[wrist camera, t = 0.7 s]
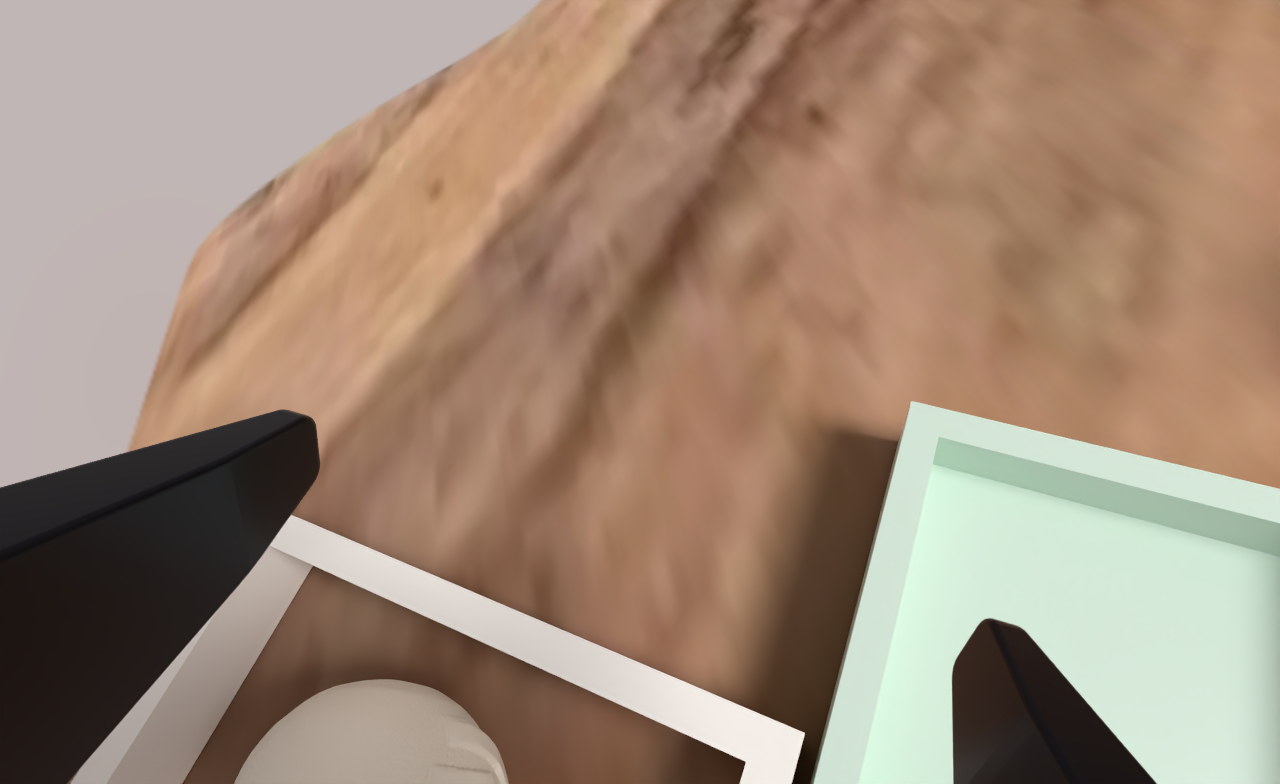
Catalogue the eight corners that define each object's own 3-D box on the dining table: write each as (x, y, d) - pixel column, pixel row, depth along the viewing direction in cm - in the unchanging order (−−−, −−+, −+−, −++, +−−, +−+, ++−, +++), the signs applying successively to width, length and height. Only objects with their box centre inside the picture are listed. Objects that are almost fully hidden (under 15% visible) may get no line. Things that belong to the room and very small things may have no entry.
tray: (1398, 1139, 14) (1532, 1222, 12) (794, 845, 19) (794, 858, 16) (1368, 562, 19) (1456, 531, 17) (898, 440, 24) (911, 400, 21)
